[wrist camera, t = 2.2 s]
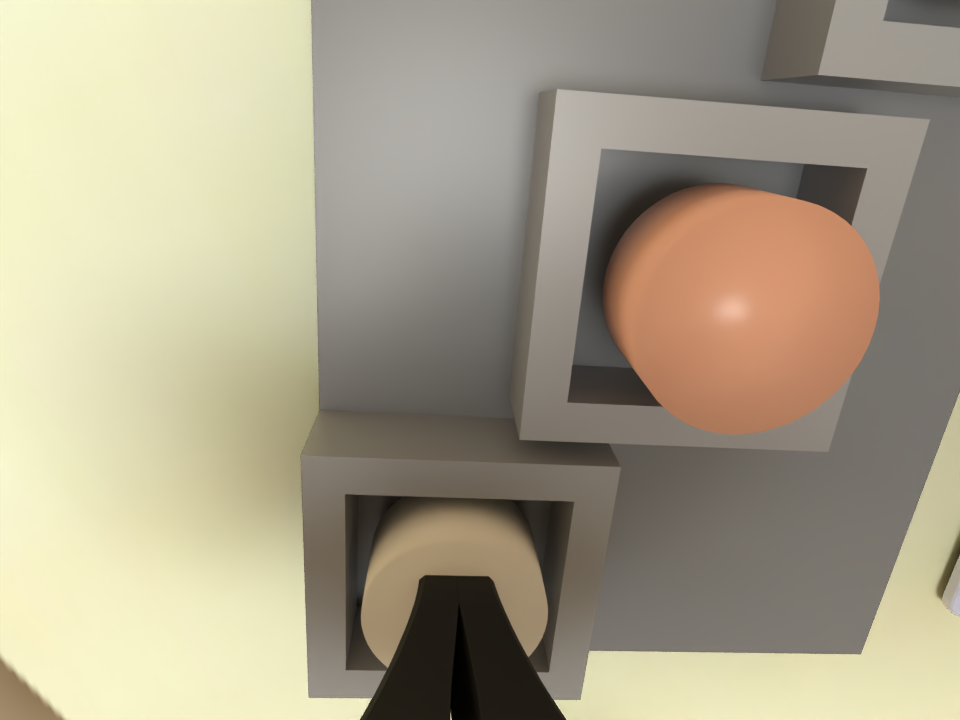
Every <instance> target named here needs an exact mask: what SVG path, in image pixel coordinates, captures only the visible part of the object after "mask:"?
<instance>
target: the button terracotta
mask: <svg viewBox="0 0 960 720" xmlns="http://www.w3.org/2000/svg"><path fill="white" fill-rule="evenodd" d="M602 298H603V311H604V316H605V322H606V324H607V327H608V330H609V333H610V335H611V337H612V339H613V341H614V343H615V344H616V346H617V347H618V349H619V350H620V351H621V353H622V354H623V355H624V357H625V358H626V360H627V361H628V362H629V364H630V365H631V366H632V368H633V369H634V370H635V372H636V373H637V374H638V376H639V377H640V378H641V380H642V381H643V382H644V384H645V385H646V386H647V388H648V389H649V391H650V392H651V393H652V395H653V396H654V397H655V399H656V400H657V401H658V402H659V403H660V404H661V405H662V406H663V407H664V408H665V409H666V410H667V411H668V412H670V413H671V414H672V415H674V416H675V417H676V418H678V419H679V420H681V421H683V422H685V423H687V424H689V425H691V426H694V427H696V428H699V429H701V430H705V431H709V432H714V433H721V434H730V435H732V434H751V433H758V432H763V431H767V430H771V429H775V428H778V427H780V426H783V425H786V424H788V423H791V422H793V421H795V420H797V419H799V418H801V417H803V416H805V415H806V414H808V413H809V412H811V411H813V410H814V409H816V408H817V407H819V406H820V405H821V404H822V403H824V402H825V401H826V400H828V399H829V398H830V397H831V396H832V395H833V394H834V393H835V392H836V391H837V390H838V389H839V388H840V387H841V386H842V385H843V384H844V383H845V382H846V381H847V379H848V378H849V377H850V376H851V375H852V373H853V372H854V370H855V369H856V367H857V366H858V364H859V363H860V361H861V360H862V358H863V356H864V354H865V352H866V350H867V348H868V346H869V344H870V341H871V338H872V336H873V333H874V330H875V326H876V322H877V318H878V311H879V302H880V291H879V280H878V274H877V269H876V266H875V263H874V260H873V257H872V255H871V253H870V251H869V249H868V247H867V245H866V243H865V242H864V240H863V239H862V238H861V236H860V235H859V234H858V232H857V231H856V230H855V229H854V228H853V227H852V226H851V225H850V224H849V223H848V222H847V221H846V220H844V219H843V218H841V217H840V216H838V215H837V214H835V213H834V212H832V211H830V210H828V209H826V208H824V207H822V206H820V205H817V204H813V203H810V202H807V201H803V200H799V199H795V198H791V197H787V196H783V195H779V194H774V193H770V192H766V191H762V190H758V189H754V188H750V187H746V186H742V185H736V184H729V183H709V184H701V185H696V186H692V187H689V188H685V189H682V190H680V191H677V192H675V193H672V194H670V195H668V196H667V197H665V198H663V199H661V200H659V201H658V202H656V203H655V204H654V205H652V206H651V207H649V208H648V209H647V210H645V211H644V212H643V213H642V214H641V215H640V216H639V217H638V218H637V219H636V220H635V221H634V222H633V223H632V224H631V226H630V227H629V228H628V229H627V230H626V231H625V233H624V234H623V236H622V237H621V239H620V240H619V242H618V244H617V245H616V247H615V249H614V251H613V253H612V256H611V258H610V261H609V264H608V266H607V269H606V274H605V278H604V283H603V295H602Z"/></svg>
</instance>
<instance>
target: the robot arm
mask: <svg viewBox="0 0 960 720" xmlns="http://www.w3.org/2000/svg"><path fill="white" fill-rule="evenodd" d="M942 602H943V604H944V606H945V607H946V608H947V609H949V610H950V611H951V612H952V613H953V614H954V615H956V616H960V555H959V558H958V560H957V562H956V565H955V567H954V570H953V572H952V574H951V577H950V579H949V582H948V584H947V586H946V589H945V591H944V594H943V598H942ZM450 713H451V717H452V720H566V718H565V717H564V716H563V714H562V713H561V711H560V709H559V708H558V706H557V705H556V703H555V702H554V700H553V699H552V697H551V695H550V694H549V692H548V691H547V689H546V687H545V686H544V684H543V683H542V681H541V679H540V677H539V676H538V674H537V672H536V671H535V669H534V667H533V665H532V663H531V662H530V660H529V658H528V656H527V654H526V652H525V651H524V649H523V647H522V645H521V643H520V641H519V639H518V637H517V635H516V633H515V631H514V629H513V627H512V625H511V623H510V621H509V619H508V616H507V614H506V612H505V610H504V607H503V605H502V603H501V600H500V598H499V595H498V592H497V590H496V587H495V583H494V581H493V580H492V579H491V578H490V577H489V576H450V575H425V576H423V577H422V578H421V579H419V584H418V590H417V594H416V598H415V602H414V605H413V608H412V611H411V614H410V617H409V620H408V623H407V625H406V628H405V630H404V633H403V635H402V637H401V640H400V642H399V644H398V647H397V649H396V651H395V654H394V656H393V658H392V660H391V663H390V665H389V667H388V669H387V671H386V673H385V674H384V676H383V678H382V680H381V682H380V684H379V686H378V688H377V690H376V692H375V694H374V696H373V698H372V700H371V701H370V703H369V705H368V707H367V709H366V710H365V712H364V714H363V716H362V717H361V719H360V720H450Z"/></svg>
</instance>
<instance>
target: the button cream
mask: <svg viewBox="0 0 960 720" xmlns="http://www.w3.org/2000/svg"><path fill="white" fill-rule="evenodd" d="M425 575H450V576H489V577H490V578H491V579H492V580H493V581H494V583H495V587H496V590H497V592H498V595H499V598H500V600H501V603H502V605H503V607H504V610H505V612H506V614H507V616H508V619H509V621H510V623H511V625H512V627H513V629H514V631H515V633H516V635H517V637H518V639H519V641H520V643H521V645H522V647H523V649H524V651H525V652H526V654H527V656H528V657H529V656H530V655H531V654H532V653H533V651H534V650H535V649H536V647H537V646H538V644H539V642H540V641H541V639H542V637H543V634H544V632H545V629H546V625H547V620H548V604H547V598H546V593H545V588H544V584H543V579H542V574H541V570H540V565H539V560H538V555H537V551H536V546H535V541H534V537H533V533H532V529H531V526H530V524H529V522H528V520H527V518H526V517H525V515H524V514H523V512H522V511H521V510H520V509H519V507H518V506H517V505H516V504H515V503H514V502H512V501H511V500H509V499H477V498H446V497H414V496H404V497H402V498H401V499H399V500H398V501H397V502H396V503H394V504H393V505H392V506H391V507H390V508H389V509H388V510H387V512H386V513H385V514H384V515H383V517H382V519H381V520H380V522H379V523H378V526H377V528H376V530H375V533H374V537H373V541H372V548H371V554H370V560H369V566H368V572H367V578H366V584H365V590H364V596H363V602H362V609H361V626H362V630H363V634H364V637H365V639H366V642H367V644H368V646H369V647H370V649H371V651H372V652H373V653H374V655H375V656H376V657H377V658H378V659H379V660H380V661H381V662H382V663H383V664H384V665H385V666H386V667H387V668H388V667H389V665H390V663H391V660H392V658H393V656H394V654H395V651H396V649H397V647H398V644H399V642H400V640H401V637H402V635H403V633H404V630H405V628H406V625H407V623H408V620H409V617H410V614H411V611H412V608H413V605H414V602H415V598H416V594H417V590H418V584H419V579H421V578H422V577H423V576H425Z"/></svg>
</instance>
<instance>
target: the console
mask: <svg viewBox="0 0 960 720" xmlns="http://www.w3.org/2000/svg"><path fill="white" fill-rule="evenodd" d="M311 15H312V65H313V114H314V164H315V213H316V263H317V312H318V362H319V413H318V415H317V418H316V420H315V422H314V425H313V427H312V430H311V432H310V434H309V437H308V439H307V442H306V444H305V446H304V449H303V451H302V454H301V482H302V512H303V542H304V573H305V603H306V633H307V664H308V694H309V698H373V696H374V694H375V692H376V690H377V688H378V686H379V684H380V682H381V680H382V678H383V676H384V674H385V673H386V671H387V669H388V668H387V667H386V666H385V665H384V664H383V663H382V662H381V661H380V660H379V659H378V658H377V657H376V656H375V655H374V653H373V652H372V651H371V649H370V647H369V646H368V644H367V642H366V639H365V637H364V634H363V630H362V626H361V609H362V602H363V596H364V590H365V584H366V578H367V572H368V566H369V560H370V554H371V548H372V541H373V537H374V533H375V530H376V528H377V526H378V523H379V522H380V520H381V519H382V517H383V515H384V514H385V513H386V512H387V510H388V509H389V508H390V507H391V506H392V505H393V504H394V503H396V502H397V501H398V500H399V499H401V498H402V497H404V496H414V497H446V498H477V499H509V500H511V501H512V502H514V503H515V504H516V505H517V506H518V507H519V509H520V510H521V511H522V512H523V514H524V515H525V517H526V518H527V520H528V522H529V524H530V526H531V529H532V533H533V537H534V541H535V546H536V551H537V555H538V560H539V565H540V570H541V574H542V579H543V584H544V588H545V593H546V598H547V604H548V620H547V625H546V629H545V632H544V634H543V637H542V639H541V641H540V642H539V644H538V646H537V647H536V649H535V650H534V651H533V653H532V654H531V655H530V656H529V657H528V658H529V660H530V662H531V663H532V665H533V667H534V669H535V671H536V672H537V674H538V676H539V677H540V679H541V681H542V683H543V684H544V686H545V687H546V689H547V691H548V692H549V694H550V695H551V697H552V699H553V700H580V699H581V693H582V687H583V682H584V676H585V670H586V665H587V659H588V653H589V651H660V652H734V653H808V654H861V652H862V650H863V647H864V644H865V642H866V639H867V636H868V634H869V631H870V628H871V626H872V623H873V620H874V618H875V615H876V612H877V610H878V607H879V605H880V602H881V599H882V597H883V594H884V591H885V589H886V586H887V583H888V581H889V578H890V575H891V573H892V570H893V567H894V565H895V562H896V559H897V557H898V554H899V551H900V549H901V546H902V543H903V541H904V538H905V535H906V533H907V530H908V527H909V525H910V522H911V519H912V517H913V514H914V511H915V509H916V506H917V503H918V501H919V498H920V495H921V493H922V490H923V488H924V485H925V482H926V480H927V477H928V474H929V472H930V469H931V466H932V464H933V461H934V458H935V456H936V453H937V450H938V448H939V445H940V442H941V440H942V437H943V434H944V432H945V429H946V426H947V424H948V421H949V418H950V416H951V413H952V410H953V408H954V405H955V402H956V400H957V397H958V394H959V392H960V0H311ZM709 183H729V184H736V185H742V186H746V187H750V188H754V189H758V190H762V191H766V192H770V193H774V194H779V195H783V196H787V197H791V198H795V199H799V200H803V201H807V202H810V203H813V204H817V205H820V206H822V207H824V208H826V209H828V210H830V211H832V212H834V213H835V214H837V215H838V216H840V217H841V218H843V219H844V220H846V221H847V222H848V223H849V224H850V225H851V226H852V227H853V228H854V229H855V230H856V231H857V232H858V234H859V235H860V236H861V238H862V239H863V240H864V242H865V243H866V245H867V247H868V249H869V251H870V253H871V255H872V257H873V260H874V263H875V266H876V269H877V274H878V280H879V291H880V302H879V311H878V318H877V322H876V326H875V330H874V333H873V336H872V338H871V341H870V344H869V346H868V348H867V350H866V352H865V354H864V356H863V358H862V360H861V361H860V363H859V364H858V366H857V367H856V369H855V370H854V372H853V373H852V375H851V376H850V377H849V378H848V379H847V381H846V382H845V383H844V384H843V385H842V386H841V387H840V388H839V389H838V390H837V391H836V392H835V393H834V394H833V395H832V396H831V397H830V398H829V399H828V400H826V401H825V402H824V403H822V404H821V405H820V406H819V407H817V408H816V409H814V410H813V411H811V412H809V413H808V414H806V415H805V416H803V417H801V418H799V419H797V420H795V421H793V422H791V423H788V424H786V425H783V426H780V427H778V428H775V429H771V430H767V431H763V432H758V433H751V434H732V435H730V434H721V433H714V432H709V431H705V430H701V429H699V428H696V427H694V426H691V425H689V424H687V423H685V422H683V421H681V420H679V419H678V418H676V417H675V416H674V415H672V414H671V413H670V412H668V411H667V410H666V409H665V408H664V407H663V406H662V405H661V404H660V403H659V402H658V401H657V400H656V399H655V397H654V396H653V395H652V393H651V392H650V391H649V389H648V388H647V386H646V385H645V384H644V382H643V381H642V380H641V378H640V377H639V376H638V374H637V373H636V372H635V370H634V369H633V368H632V366H631V365H630V364H629V362H628V361H627V360H626V358H625V357H624V355H623V354H622V353H621V351H620V350H619V349H618V347H617V346H616V344H615V343H614V341H613V339H612V337H611V335H610V333H609V330H608V327H607V324H606V322H605V316H604V311H603V298H602V295H603V283H604V278H605V274H606V269H607V266H608V264H609V261H610V258H611V256H612V253H613V251H614V249H615V247H616V245H617V244H618V242H619V240H620V239H621V237H622V236H623V234H624V233H625V231H626V230H627V229H628V228H629V227H630V226H631V224H632V223H633V222H634V221H635V220H636V219H637V218H638V217H639V216H640V215H641V214H642V213H643V212H644V211H645V210H647V209H648V208H649V207H651V206H652V205H654V204H655V203H656V202H658V201H659V200H661V199H663V198H665V197H667V196H668V195H670V194H672V193H675V192H677V191H680V190H682V189H685V188H689V187H692V186H696V185H701V184H709Z"/></svg>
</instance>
